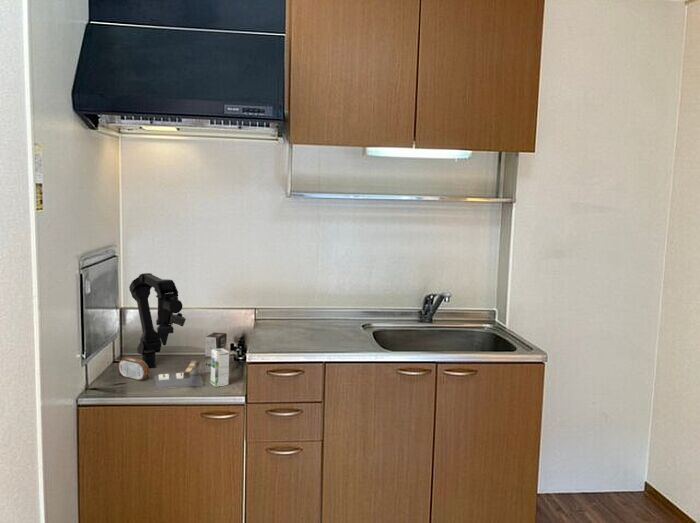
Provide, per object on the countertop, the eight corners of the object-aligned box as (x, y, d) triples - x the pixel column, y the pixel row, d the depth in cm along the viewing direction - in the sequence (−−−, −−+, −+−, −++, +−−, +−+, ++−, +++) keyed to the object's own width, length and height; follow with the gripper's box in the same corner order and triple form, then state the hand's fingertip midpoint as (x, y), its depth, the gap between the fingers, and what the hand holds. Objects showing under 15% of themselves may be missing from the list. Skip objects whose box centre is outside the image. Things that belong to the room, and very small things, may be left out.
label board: (154, 378, 234) (154, 366, 234) (199, 375, 241) (200, 363, 240) (155, 389, 221) (155, 376, 221) (203, 385, 228) (203, 373, 227)
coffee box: (218, 373, 245) (218, 337, 243) (204, 372, 246) (205, 336, 244) (226, 367, 254) (227, 333, 252) (213, 366, 255) (214, 331, 253)
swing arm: (191, 363, 239) (191, 358, 239) (199, 363, 239) (199, 358, 239) (181, 378, 219) (181, 373, 219) (190, 378, 220) (191, 373, 219)
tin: (149, 380, 232) (149, 360, 231) (143, 382, 229) (144, 362, 228) (123, 374, 238) (122, 355, 237) (117, 376, 235) (117, 356, 234)
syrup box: (210, 383, 231) (210, 349, 230) (223, 381, 235) (223, 347, 233) (215, 387, 227) (216, 352, 225) (229, 385, 230) (229, 351, 229)
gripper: (186, 313, 231) (185, 349, 233) (182, 304, 248) (182, 338, 250) (157, 314, 227) (157, 351, 229) (156, 305, 244) (156, 340, 246)
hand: (164, 345), depth 239 cm, fingers closed
